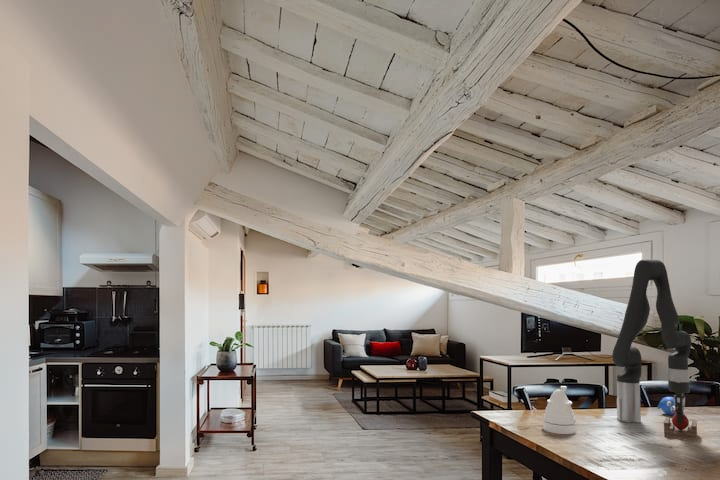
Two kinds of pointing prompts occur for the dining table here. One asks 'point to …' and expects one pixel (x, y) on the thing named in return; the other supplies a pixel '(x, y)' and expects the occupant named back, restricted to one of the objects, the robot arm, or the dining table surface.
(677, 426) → the pomegranate
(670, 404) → the blue mole toy
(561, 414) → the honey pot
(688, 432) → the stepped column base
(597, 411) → the dining table surface
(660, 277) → the robot arm
